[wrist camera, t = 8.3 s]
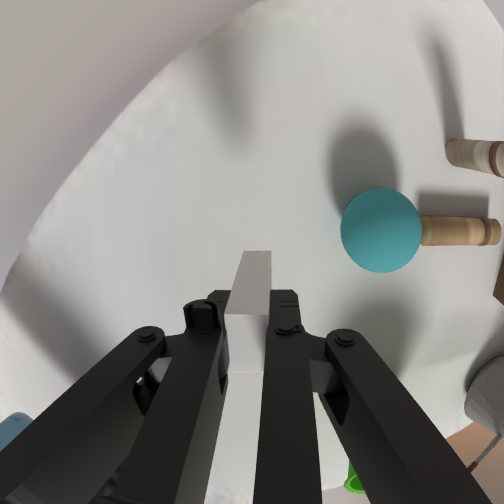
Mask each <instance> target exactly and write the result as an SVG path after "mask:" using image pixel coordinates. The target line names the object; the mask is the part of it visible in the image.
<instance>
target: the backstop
mask: <svg viewBox="0 0 504 504" xmlns="http://www.w3.org/2000/svg"><path fill="white" fill-rule="evenodd" d="M493 296H494V297H495V298H496V299H497V300H498V301H500V302H501V303H502V304H503V305H504V256H503V260H502V264H501V268H500V272H499V276H498V280H497V283H496V287H495V290H494V294H493Z"/></svg>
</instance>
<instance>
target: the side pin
mask: <svg viewBox="0 0 504 504" xmlns="http://www.w3.org/2000/svg"><path fill="white" fill-rule="evenodd" d="M446 157H447V159H448V161H449V162H450V164H452V165H453V166H457V167H462V168H466V169H471V170H476V171H480V172H484V173H489V174H493V175H496V176H498V177H502V178H504V141H484V140H468V139H452V140H450V141H449V142H448V143H447V145H446Z"/></svg>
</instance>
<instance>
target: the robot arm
mask: <svg viewBox="0 0 504 504" xmlns="http://www.w3.org/2000/svg"><path fill="white" fill-rule="evenodd" d="M183 310H184V316H185V322H186V329H185V331H184V333H183V334H179V335H172V336H165V334H164V331H163V330H162V329H161V328H159V327H155V326H145V327H142V328H139V329H137V330H135V331H134V332H132V333H131V334H130V335H129V336H128V337H127V338H125V339H124V340H123V341H122V342H121V343H120V344H119V345H117V346H116V347H115V348H114V349H113V350H112V351H111V352H109V353H108V354H107V355H106V356H105V357H104V358H103V359H101V360H100V361H99V362H98V363H97V364H96V365H95V366H94V367H92V368H91V369H90V370H89V371H88V372H87V373H86V374H85V375H83V376H82V377H81V378H80V379H79V380H78V381H77V382H76V383H74V384H73V385H72V386H71V387H70V388H69V389H68V390H67V391H66V392H64V393H63V394H62V395H61V396H60V397H59V398H58V399H57V400H56V401H54V402H53V403H52V404H51V405H50V406H49V407H48V408H47V409H46V410H45V411H43V412H42V413H41V414H40V415H39V416H38V417H37V418H36V419H35V420H33V419H32V418H30V417H29V416H28V415H26V414H24V413H21V412H16V413H13V414H12V415H10V416H9V417H7V418H6V419H5V420H4V421H2V422H1V423H0V504H204V500H205V495H206V490H207V485H208V480H209V475H210V470H211V465H212V460H213V455H214V450H215V445H216V441H217V436H218V431H219V426H220V421H221V416H222V411H223V406H224V401H225V396H226V391H227V386H228V374H227V371H228V366H229V369H230V373H257V374H264V375H263V388H262V402H261V415H260V427H259V439H258V451H257V462H256V474H255V484H254V495H253V504H322V490H321V476H320V463H319V451H318V440H317V429H316V419H315V409H314V400H313V392H316V393H318V395H319V398H320V400H321V402H322V405H323V407H324V409H325V411H326V413H327V415H328V417H329V419H330V421H331V423H332V425H333V427H334V429H335V431H336V433H337V435H338V437H339V440H340V442H341V444H342V446H343V448H344V450H345V452H346V454H347V456H348V458H349V460H350V462H351V464H352V466H353V468H354V470H355V472H356V474H357V476H358V479H359V481H360V483H361V485H362V487H363V489H364V491H365V493H366V495H367V497H368V499H369V501H370V503H371V504H492V503H491V501H490V500H489V498H488V497H487V496H486V494H485V493H484V492H483V490H482V488H481V487H480V486H479V484H478V483H477V481H476V480H475V479H474V477H473V476H472V474H471V473H470V472H469V470H468V469H467V468H466V466H465V465H464V464H463V462H462V461H461V459H460V458H459V457H458V456H457V454H456V453H455V452H454V450H453V449H452V447H451V446H450V445H449V444H448V442H447V441H446V440H445V438H444V437H443V436H442V434H441V433H440V432H439V430H438V429H437V428H436V426H435V425H434V424H433V423H432V421H431V420H430V419H429V417H428V416H427V415H426V414H425V412H424V411H423V410H422V408H421V407H420V406H419V405H418V403H417V402H416V401H415V400H414V398H413V397H412V396H411V395H410V393H409V392H408V391H407V390H406V388H405V387H404V386H403V385H402V383H401V382H400V381H399V380H398V378H397V377H396V376H395V375H394V373H393V372H392V371H391V370H390V368H389V367H388V366H387V365H386V364H385V362H384V361H383V360H382V359H381V357H380V356H379V355H378V354H377V353H376V351H375V350H374V349H373V348H372V347H371V345H370V344H369V343H368V342H367V341H366V339H365V338H364V337H363V336H362V335H361V334H360V333H358V332H356V331H354V330H351V329H337V330H334V331H331V332H330V333H329V334H327V337H326V338H322V337H317V336H313V335H311V334H309V333H307V332H306V331H305V329H304V327H303V325H302V324H301V316H300V309H299V302H298V295H297V294H296V293H295V292H294V291H293V290H272V285H271V251H243V255H242V258H241V261H240V264H239V267H238V271H237V274H236V277H235V280H234V283H233V287H232V290H215V291H213V292H212V293H211V294H209V295H208V297H207V299H201V300H195V301H192V302H190V303H188V304H186V305H185V306H184V307H183ZM140 377H141V378H142V380H141V381H140V382H138V383H137V382H136V381H137V380H138V379H139V378H140Z"/></svg>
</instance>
